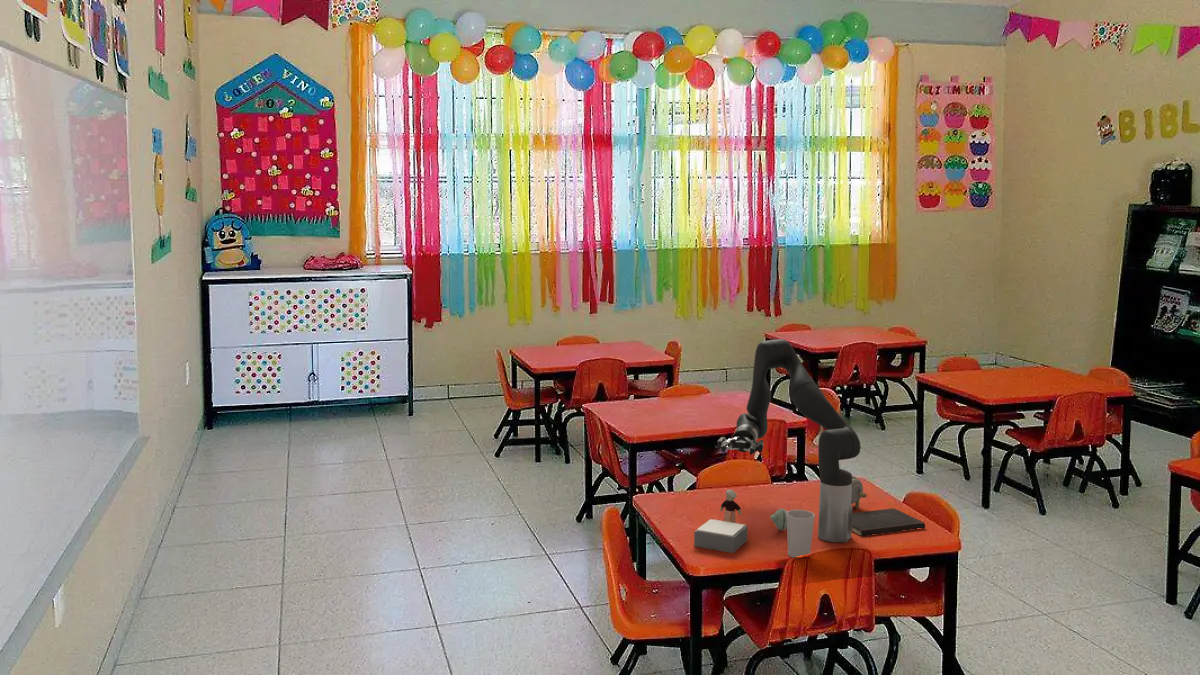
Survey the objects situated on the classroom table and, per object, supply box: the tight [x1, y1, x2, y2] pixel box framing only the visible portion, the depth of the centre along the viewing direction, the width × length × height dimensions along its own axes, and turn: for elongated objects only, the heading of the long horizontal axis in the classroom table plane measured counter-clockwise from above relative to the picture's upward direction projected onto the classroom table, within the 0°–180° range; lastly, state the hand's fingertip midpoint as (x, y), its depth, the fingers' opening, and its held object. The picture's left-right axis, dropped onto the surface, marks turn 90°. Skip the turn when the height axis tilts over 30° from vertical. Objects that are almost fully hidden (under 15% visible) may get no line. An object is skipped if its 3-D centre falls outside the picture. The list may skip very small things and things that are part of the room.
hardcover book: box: [852, 507, 926, 537], centre depth 326 cm, size 16×23×2 cm
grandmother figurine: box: [719, 489, 743, 523], centre depth 319 cm, size 8×4×13 cm, turn 62°
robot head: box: [770, 508, 788, 531], centre depth 319 cm, size 8×4×7 cm, turn 104°
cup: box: [786, 509, 816, 558], centre depth 298 cm, size 8×8×12 cm
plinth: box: [693, 518, 748, 554], centre depth 307 cm, size 12×12×5 cm
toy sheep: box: [851, 475, 867, 509], centre depth 343 cm, size 11×17×11 cm, turn 39°
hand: (737, 450), depth 327 cm, fingers open, 8 cm apart
